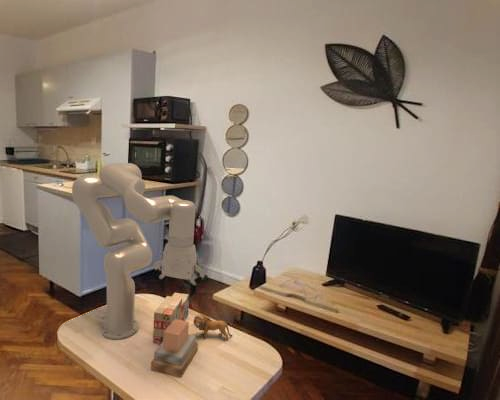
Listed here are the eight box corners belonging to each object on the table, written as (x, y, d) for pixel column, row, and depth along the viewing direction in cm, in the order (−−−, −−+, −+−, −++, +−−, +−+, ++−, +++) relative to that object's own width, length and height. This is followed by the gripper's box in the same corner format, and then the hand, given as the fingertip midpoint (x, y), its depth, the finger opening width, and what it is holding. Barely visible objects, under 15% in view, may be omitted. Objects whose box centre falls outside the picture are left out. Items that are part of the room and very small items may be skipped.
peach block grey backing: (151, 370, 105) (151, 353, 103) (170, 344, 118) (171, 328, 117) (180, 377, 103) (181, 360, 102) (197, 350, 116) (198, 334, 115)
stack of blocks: (173, 313, 139) (175, 285, 136) (188, 315, 138) (189, 287, 136) (152, 343, 118) (153, 311, 116) (169, 346, 117) (171, 314, 115)
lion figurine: (192, 341, 121) (193, 318, 119) (192, 333, 126) (194, 311, 124) (232, 341, 123) (234, 319, 121) (231, 332, 128) (233, 311, 126)
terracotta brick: (163, 349, 106) (163, 331, 105) (174, 335, 114) (174, 318, 112) (177, 352, 105) (178, 335, 104) (187, 338, 113) (188, 321, 112)
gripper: (149, 239, 101) (147, 292, 104) (203, 248, 97) (199, 302, 101) (160, 233, 108) (158, 282, 111) (211, 241, 105) (208, 291, 108)
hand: (178, 292), depth 106 cm, fingers open, 9 cm apart
